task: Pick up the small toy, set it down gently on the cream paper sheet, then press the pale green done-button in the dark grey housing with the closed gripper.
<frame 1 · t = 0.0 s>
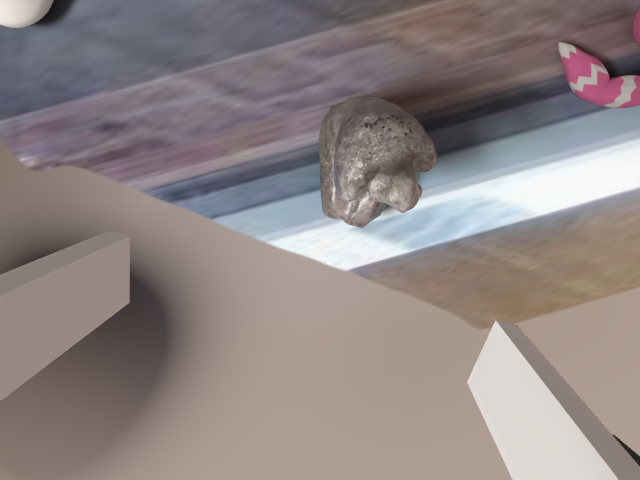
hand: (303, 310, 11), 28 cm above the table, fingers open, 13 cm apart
toy: (620, 48, 31), on the table
figurine: (365, 164, 37), on the table
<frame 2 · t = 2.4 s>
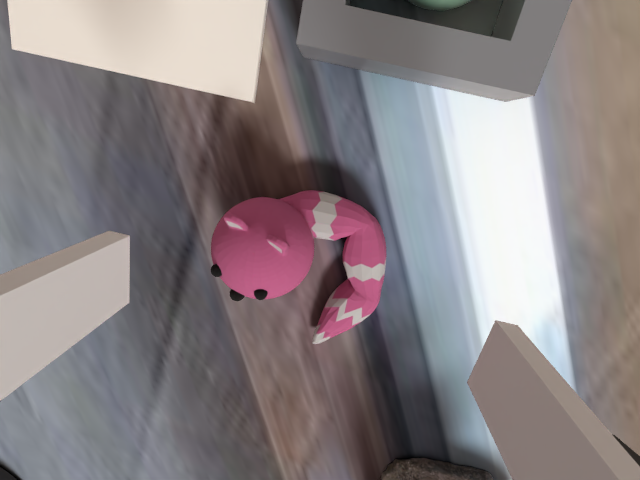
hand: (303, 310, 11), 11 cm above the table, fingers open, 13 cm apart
toy: (306, 255, 23), on the table
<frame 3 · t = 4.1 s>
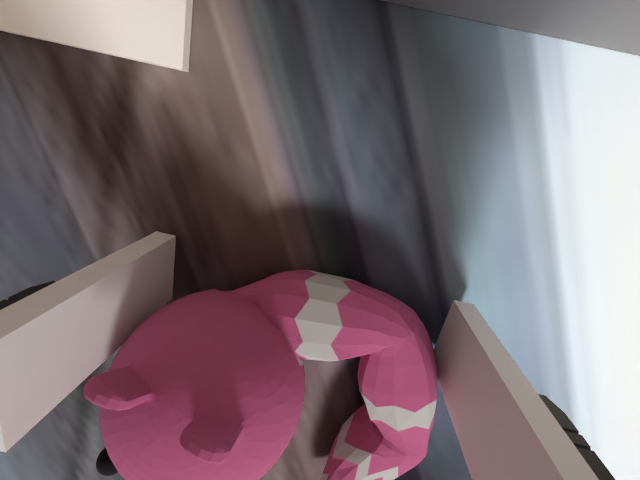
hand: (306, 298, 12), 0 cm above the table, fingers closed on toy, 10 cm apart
toy: (297, 360, 14), on the table, touching gripper
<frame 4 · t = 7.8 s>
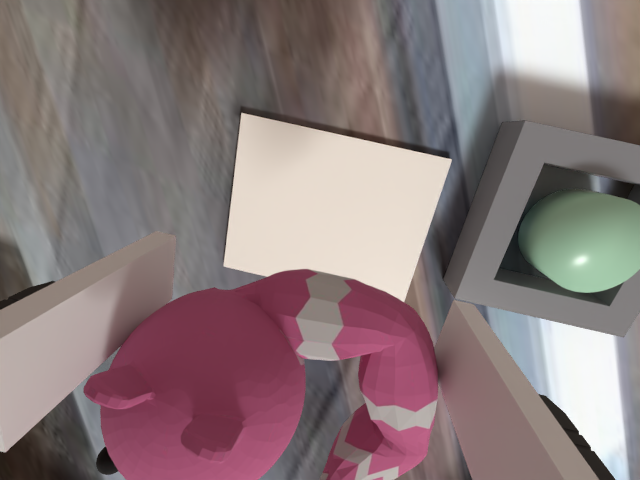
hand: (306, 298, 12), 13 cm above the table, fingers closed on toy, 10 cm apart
toy: (297, 360, 14), point 12 cm above the table, touching gripper
done button: (580, 239, 20), point 3 cm above the table, slide at 0.0 cm
paper sheet: (328, 216, 24), on the table
button housing: (551, 225, 23), on the table
when the fingers open (1 cm above the table, at t = 11.4 s): toy stays where it is, resting on paper sheet.
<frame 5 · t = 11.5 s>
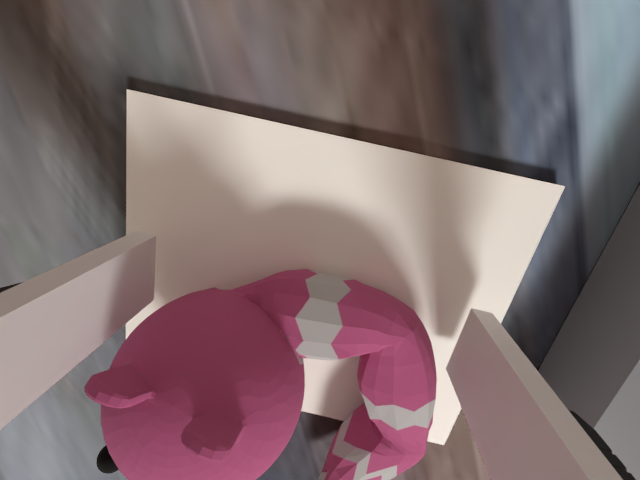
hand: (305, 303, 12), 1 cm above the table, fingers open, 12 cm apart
toy: (297, 359, 14), resting on paper sheet
paper sheet: (309, 288, 13), on the table
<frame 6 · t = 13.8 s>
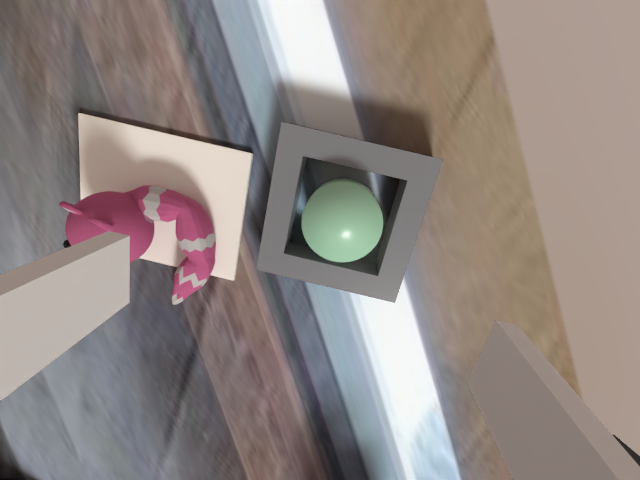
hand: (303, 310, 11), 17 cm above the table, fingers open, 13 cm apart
toy: (163, 236, 30), resting on paper sheet
done button: (342, 219, 25), point 3 cm above the table, slide at 0.0 cm
paper sheet: (163, 201, 29), on the table
button housing: (342, 210, 28), on the table
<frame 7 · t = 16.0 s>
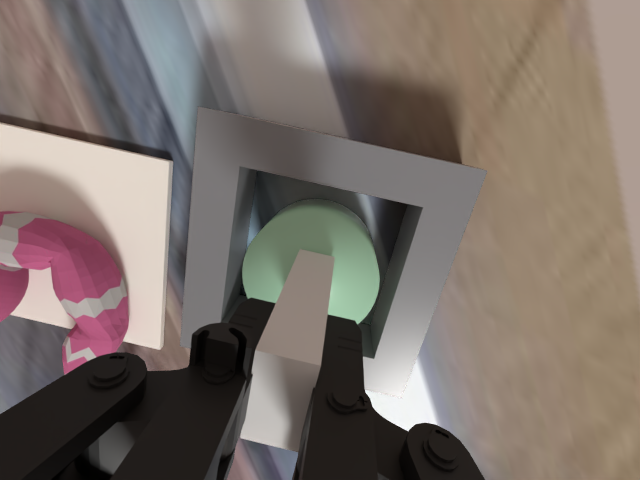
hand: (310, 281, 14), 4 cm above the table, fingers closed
toy: (52, 283, 20), resting on paper sheet
done button: (313, 266, 15), point 3 cm above the table, slide at 0.6 cm, touching gripper
paper sheet: (45, 234, 19), on the table
button housing: (318, 248, 18), on the table
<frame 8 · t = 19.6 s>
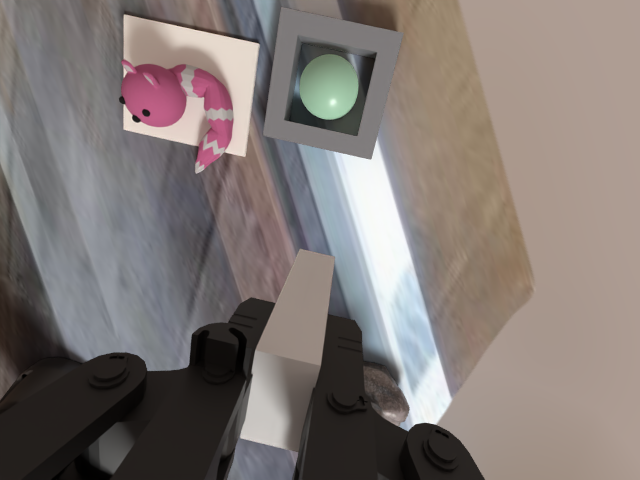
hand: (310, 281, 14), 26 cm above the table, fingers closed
toy: (191, 115, 37), resting on paper sheet
done button: (329, 89, 34), point 2 cm above the table, slide at 1.6 cm
paper sheet: (188, 89, 37), on the table
button housing: (330, 91, 35), on the table
figurine: (360, 382, 48), on the table
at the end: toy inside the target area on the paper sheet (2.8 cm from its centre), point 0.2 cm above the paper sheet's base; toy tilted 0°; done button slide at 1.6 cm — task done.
